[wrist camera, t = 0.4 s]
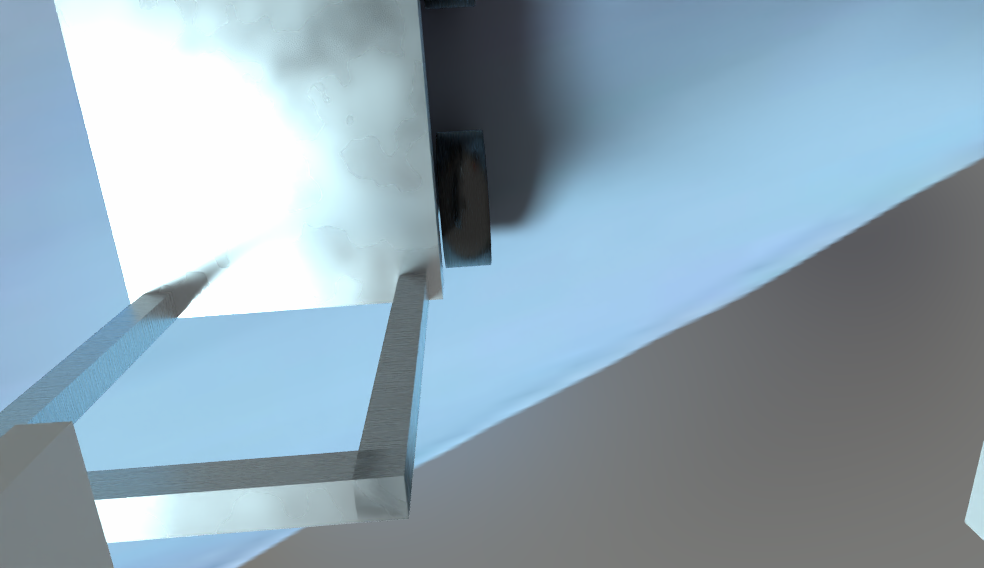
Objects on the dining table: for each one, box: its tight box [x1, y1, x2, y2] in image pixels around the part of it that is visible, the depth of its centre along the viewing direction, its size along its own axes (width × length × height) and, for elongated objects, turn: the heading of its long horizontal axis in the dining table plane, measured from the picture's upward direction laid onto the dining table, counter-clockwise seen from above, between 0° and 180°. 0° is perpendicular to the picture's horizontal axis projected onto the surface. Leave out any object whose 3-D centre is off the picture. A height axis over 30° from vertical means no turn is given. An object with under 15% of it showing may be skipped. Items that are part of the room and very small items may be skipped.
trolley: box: [0, 0, 491, 543], centre depth 21 cm, size 17×15×22 cm
